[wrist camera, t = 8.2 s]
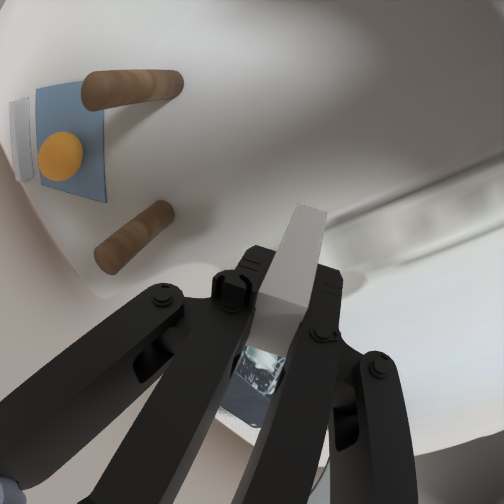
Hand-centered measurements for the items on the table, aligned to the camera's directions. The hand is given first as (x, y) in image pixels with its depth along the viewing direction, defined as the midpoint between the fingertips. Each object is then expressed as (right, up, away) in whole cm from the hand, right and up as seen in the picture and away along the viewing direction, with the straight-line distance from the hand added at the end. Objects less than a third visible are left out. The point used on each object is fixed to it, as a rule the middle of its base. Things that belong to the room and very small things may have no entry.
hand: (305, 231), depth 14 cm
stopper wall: (-35, +15, +13) cm, 40 cm away
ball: (-23, +9, +10) cm, 27 cm away
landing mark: (-25, +12, +12) cm, 30 cm away
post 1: (-10, +13, +6) cm, 17 cm away
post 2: (-12, +3, +13) cm, 18 cm away
